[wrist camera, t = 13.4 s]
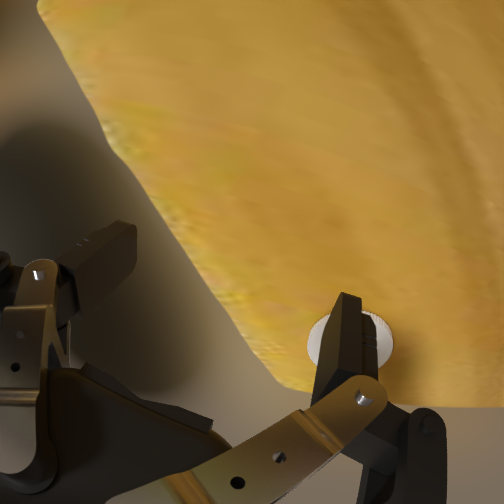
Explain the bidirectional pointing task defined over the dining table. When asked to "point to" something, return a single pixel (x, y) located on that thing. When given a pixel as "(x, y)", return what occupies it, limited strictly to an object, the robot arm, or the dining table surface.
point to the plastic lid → (382, 339)
